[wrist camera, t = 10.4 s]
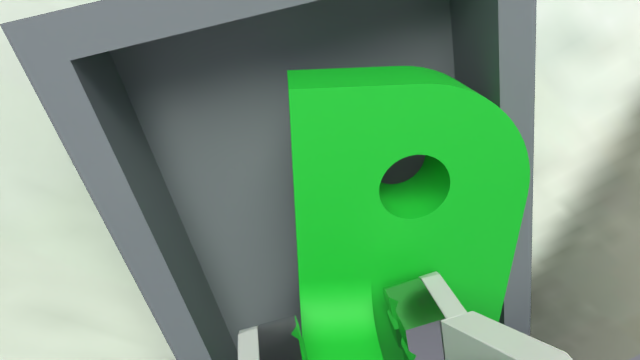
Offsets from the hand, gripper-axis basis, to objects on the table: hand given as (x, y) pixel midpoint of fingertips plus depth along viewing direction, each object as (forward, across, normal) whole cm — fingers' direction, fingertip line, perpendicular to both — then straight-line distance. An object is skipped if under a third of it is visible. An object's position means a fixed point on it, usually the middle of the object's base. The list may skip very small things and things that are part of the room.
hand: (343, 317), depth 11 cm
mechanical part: (+3, -2, 0) cm, 4 cm away
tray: (+5, -1, 0) cm, 5 cm away
